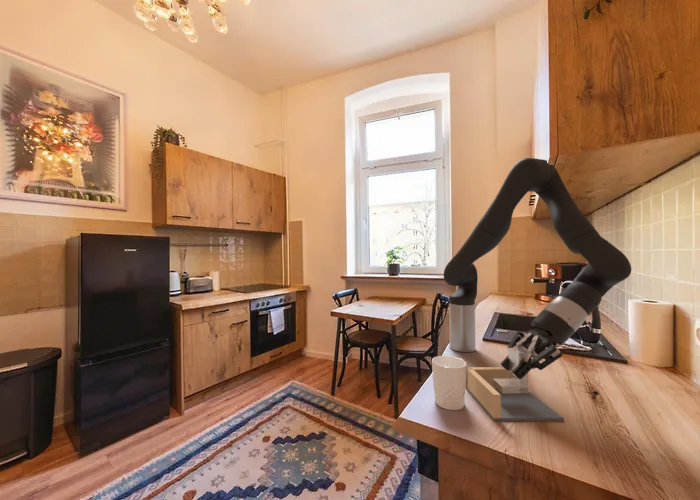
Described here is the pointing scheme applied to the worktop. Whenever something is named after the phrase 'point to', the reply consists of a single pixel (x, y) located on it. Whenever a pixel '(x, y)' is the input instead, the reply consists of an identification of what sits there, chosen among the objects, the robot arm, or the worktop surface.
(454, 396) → the white cup
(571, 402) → the worktop surface
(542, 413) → the corner tray
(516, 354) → the bracket
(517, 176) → the robot arm
